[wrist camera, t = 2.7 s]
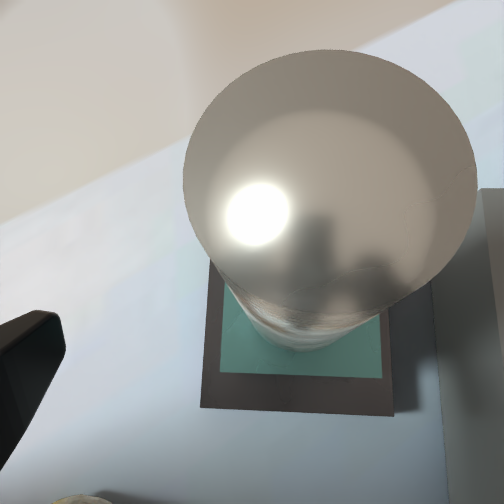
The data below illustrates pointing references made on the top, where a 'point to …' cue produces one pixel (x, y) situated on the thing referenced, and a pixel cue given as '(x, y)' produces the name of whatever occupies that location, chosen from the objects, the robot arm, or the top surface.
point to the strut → (324, 206)
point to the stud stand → (288, 377)
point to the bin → (473, 356)
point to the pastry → (82, 500)
